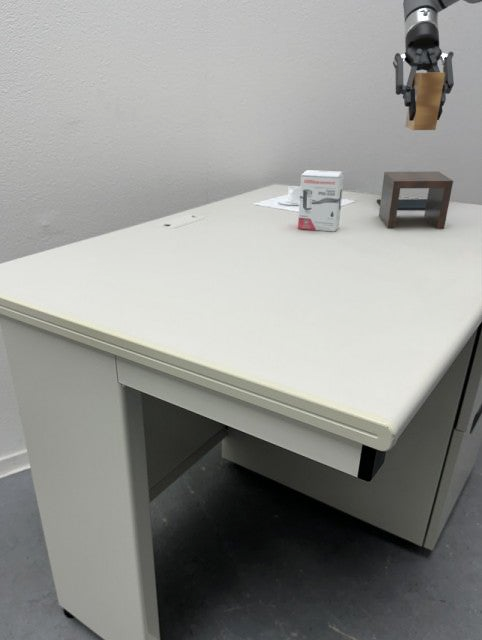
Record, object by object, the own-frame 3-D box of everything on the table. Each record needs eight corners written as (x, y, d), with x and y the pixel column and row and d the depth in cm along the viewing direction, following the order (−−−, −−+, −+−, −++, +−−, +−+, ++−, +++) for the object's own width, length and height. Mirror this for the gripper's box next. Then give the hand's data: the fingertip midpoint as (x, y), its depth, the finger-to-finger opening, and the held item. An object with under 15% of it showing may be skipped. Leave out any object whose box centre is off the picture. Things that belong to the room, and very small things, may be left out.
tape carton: (426, 126, 134) (435, 72, 128) (435, 129, 126) (445, 72, 120) (404, 126, 134) (412, 72, 129) (412, 130, 127) (421, 73, 121)
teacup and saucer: (291, 198, 150) (292, 182, 148) (315, 201, 145) (317, 186, 143) (271, 203, 145) (272, 187, 143) (296, 207, 140) (297, 191, 138)
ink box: (296, 229, 121) (300, 173, 115) (301, 224, 125) (305, 169, 120) (335, 232, 118) (341, 174, 113) (339, 226, 122) (345, 171, 117)
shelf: (430, 215, 129) (438, 171, 124) (444, 228, 119) (453, 180, 114) (378, 215, 130) (384, 171, 126) (387, 228, 120) (394, 181, 115)
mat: (431, 201, 142) (432, 199, 142) (441, 210, 134) (442, 207, 133) (376, 201, 144) (376, 199, 144) (383, 210, 135) (383, 207, 135)
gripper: (386, 23, 129) (388, 104, 123) (466, 20, 127) (473, 103, 121) (379, 50, 136) (381, 128, 130) (455, 47, 134) (461, 127, 128)
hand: (425, 116), depth 126 cm, fingers closed on tape carton, 5 cm apart
